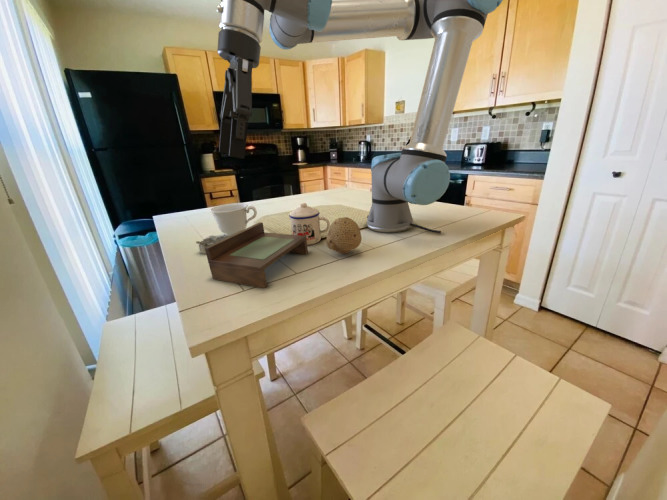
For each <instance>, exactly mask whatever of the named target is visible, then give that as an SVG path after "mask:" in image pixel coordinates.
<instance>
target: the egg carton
mask: <svg viewBox="0 0 667 500" xmlns="http://www.w3.org/2000/svg"><path fill="white" fill-rule="evenodd" d="M231 235H233V234H231ZM231 235H226V234H222V235H209V236H206V237H205V238H203V240H201V241H199V240H198V241H195V243H196V244H197V245H198V248H199V253H200V254H203V255H206V252H205V247H208V246H210V245H212V244H214V243H216V242H218V241H221V240H223V239H225V238H227V237H229V236H231Z"/></svg>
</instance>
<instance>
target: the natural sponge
mask: <svg viewBox="0 0 667 500" xmlns="http://www.w3.org/2000/svg"><path fill="white" fill-rule="evenodd" d="M325 242H326V246H327V248H329V249H330V250H332V251H335V252H337V253H339V254H343V255H344V254H345V255H346V254H348V253H350V252H352V251H353V250H355V249H357V248H358V247H359V246H360V244H361V243H362V233H361V229H360V227H359V225H358V223H357V222H356V221H355V220H353V219H352V218H350V217H348V216H343V217H338V218H335V220H334V221H332V222H331V224H330V227H329V229H328V231H327V234H326V240H325Z"/></svg>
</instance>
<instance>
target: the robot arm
mask: <svg viewBox="0 0 667 500" xmlns="http://www.w3.org/2000/svg"><path fill="white" fill-rule="evenodd" d="M503 1H504V0H220V5H218V4H217V6H216V12H217V13H219V14H220V15H219V23H218V25H219V26H218V27H219V28H220V31H218V34H217V35H218V37H217V49H216V50H217V54H218V56H219V57H220V58H221V59H223V60H224V61H227V62H228V64H229V66H228V67H227V68H226V69H225V71H224V86H223V94H222V101H221V108H220V109H221V110H220V114H219V118H220V120H221V121H220V131H219V132H220V133H219V148H218V153H221V154H226V155H228V157H232V158H237V159H243V160H245V159H246V147H247V138H248V137H247V136H248V127H249V121H250V118H251V117H253V69H256V68H258V67H259V65H260V61H261V60H260V59H261V49H262V48H261V45H260V44H261V43H262V41H263V33H264V24H265V23H264V22H265V11H267V12H268V13H271V14H270V17H269V24H268V25H269V28H268V29H269V35H270V37H271V40H272V41H273V43H274V44H275V45H276V46H277V47H278V48H279V49H282V50H288V51H289V50H291V49H293V48H295V47H297V45H303V44H312V43H313V44H314V43H325V42H326V43H327V42H336V41H337V42H338V41H351V40H352V41H353V40H363V39H376V38H389V37H396V38H397V40H399V41H412V40H413V41H414V40H428V39H429V40H430V39H434V43H433V46H432V52H431V54H430V59H429V62H428V67H427V71H426V75H425V79H424V83H423V87H422V90H421V91H422V92H421V96H420V98H419V104H418V106H417V111H416V116H415V119H414V123H413V127H412V132H411V135H410V140H409V143H408V144H406V145H405V146H404V147H402V149H401V152H396V153H387V154H382V155H377V156H374V157H373V158H372V160H371V166H370V171H371V173H370V174H371V205H370V206H371V207H370V209H369V213H368V215H367V216H366V219H367V220H366V227H367V228H368V229H369V230H371V231H374V232H377V233H386V234H387V233H389V234H391V233H392V234H393V233H402V232H406V231H409V230H410V229H412V228H413V227H414V228H417V229H420V230H422V231H425V232H429V233H435V234H441V233H442V231H441V230H438V229H437V230H436V229H431V228H428V227H425V226H421V225H418V224H415V223H414V218H413V215H412V212H411V209H410V206H409V205H410V204H411V205H418V206H428V205H429V206H430V205H431V204H434V203H435V202H436V201H438V200H440V199H441V197H442V196H444V194H445V193H446V191H447V189H448V188H449V185H450V181H451V173H450V172H449V171H450V168H449V166H448V165H447V164H446V161H447V157H448V155H447V153H446V151H445V150H444V146H445V142H446V138H447V135H448V131H449V127H450V124H451V120H452V117H453V114H454V110H455V107H456V103H457V100H458V95H459V92H460V88H461V84H462V81H463V77H464V74H465V70H466V67H467V63H468V60H469V57H470V56H469V55H470V54H471V53H470V52H471V49H472V46H473V42H475V41H476V40H477V39H478V38H480V37H481V36H482V35H483V32H484V28H485V25H486V22H487V18H488V15H489V14H491V13H493V12H495V11H496V10H497V8H498V7H500V6H501V4H502V2H503Z"/></svg>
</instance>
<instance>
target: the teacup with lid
mask: <svg viewBox="0 0 667 500" xmlns="http://www.w3.org/2000/svg"><path fill="white" fill-rule="evenodd" d="M288 216H289V217H288V218H290V226H291V233H292V234H291V235H301V236H306V239H307V246H310V245H315V244H317V243H319V242H320V241H321V239H322V234H325V233H328V231H329V228H330V226H331V224H330V220H329V219H328V218H327V217H325V216H320V210H319V209H318V208H314V207H311V206H309V205H308V204H307V203H306V202H302V203H299V206H298V207H296V208H295V209H294V210H291V211H290V212H289V215H288ZM320 221H325V222H326V224H327V225H326V228H325V229H323V230H321V222H320Z"/></svg>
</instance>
